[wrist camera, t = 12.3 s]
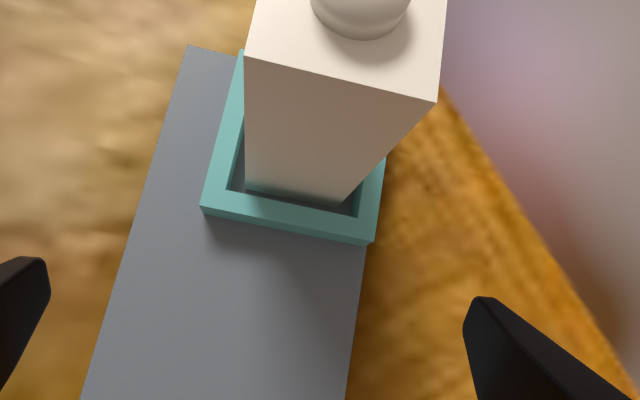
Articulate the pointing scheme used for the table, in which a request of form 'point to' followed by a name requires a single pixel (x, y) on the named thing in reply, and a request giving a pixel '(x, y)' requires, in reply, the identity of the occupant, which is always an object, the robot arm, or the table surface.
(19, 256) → the robot arm
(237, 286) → the baseplate
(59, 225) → the table surface
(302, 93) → the column
